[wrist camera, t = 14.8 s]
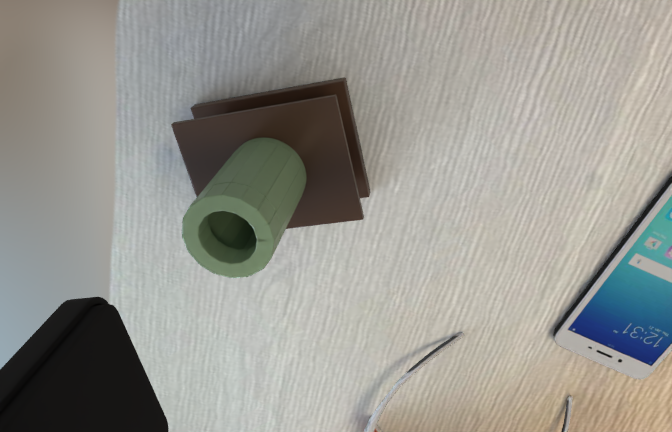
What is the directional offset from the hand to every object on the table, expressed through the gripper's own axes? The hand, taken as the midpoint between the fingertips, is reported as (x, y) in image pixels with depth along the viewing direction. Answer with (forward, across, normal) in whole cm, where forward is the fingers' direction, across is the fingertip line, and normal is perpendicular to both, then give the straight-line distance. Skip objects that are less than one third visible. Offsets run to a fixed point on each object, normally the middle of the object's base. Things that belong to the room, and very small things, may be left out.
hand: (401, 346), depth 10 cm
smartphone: (+30, -12, +20) cm, 38 cm away
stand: (+30, +12, +7) cm, 33 cm away
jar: (+26, +12, +7) cm, 30 cm away
